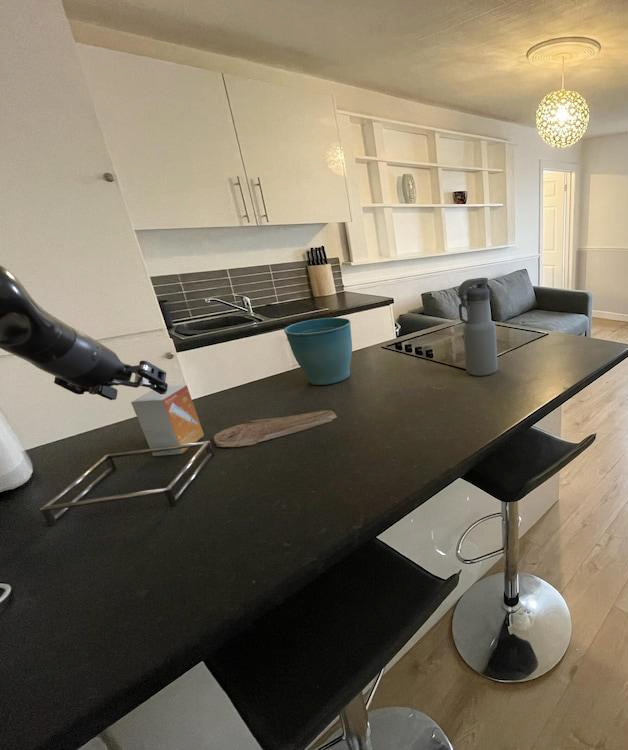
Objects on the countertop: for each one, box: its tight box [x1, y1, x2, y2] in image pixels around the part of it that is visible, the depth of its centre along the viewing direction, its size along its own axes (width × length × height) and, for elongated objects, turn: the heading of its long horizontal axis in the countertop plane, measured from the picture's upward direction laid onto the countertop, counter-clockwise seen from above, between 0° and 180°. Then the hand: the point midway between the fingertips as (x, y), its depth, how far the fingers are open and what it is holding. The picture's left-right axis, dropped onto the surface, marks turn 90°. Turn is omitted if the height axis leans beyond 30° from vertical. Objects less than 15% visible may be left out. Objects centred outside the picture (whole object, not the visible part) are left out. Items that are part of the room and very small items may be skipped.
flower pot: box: [283, 317, 353, 386], centre depth 122 cm, size 18×18×17 cm
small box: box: [130, 384, 205, 457], centre depth 89 cm, size 8×6×13 cm
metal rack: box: [39, 440, 215, 527], centre depth 77 cm, size 19×17×4 cm
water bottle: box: [457, 277, 499, 377], centre depth 121 cm, size 10×10×28 cm
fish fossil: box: [213, 409, 338, 448], centre depth 97 cm, size 26×10×1 cm, turn 123°
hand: (139, 392), depth 80 cm, fingers open, 8 cm apart
